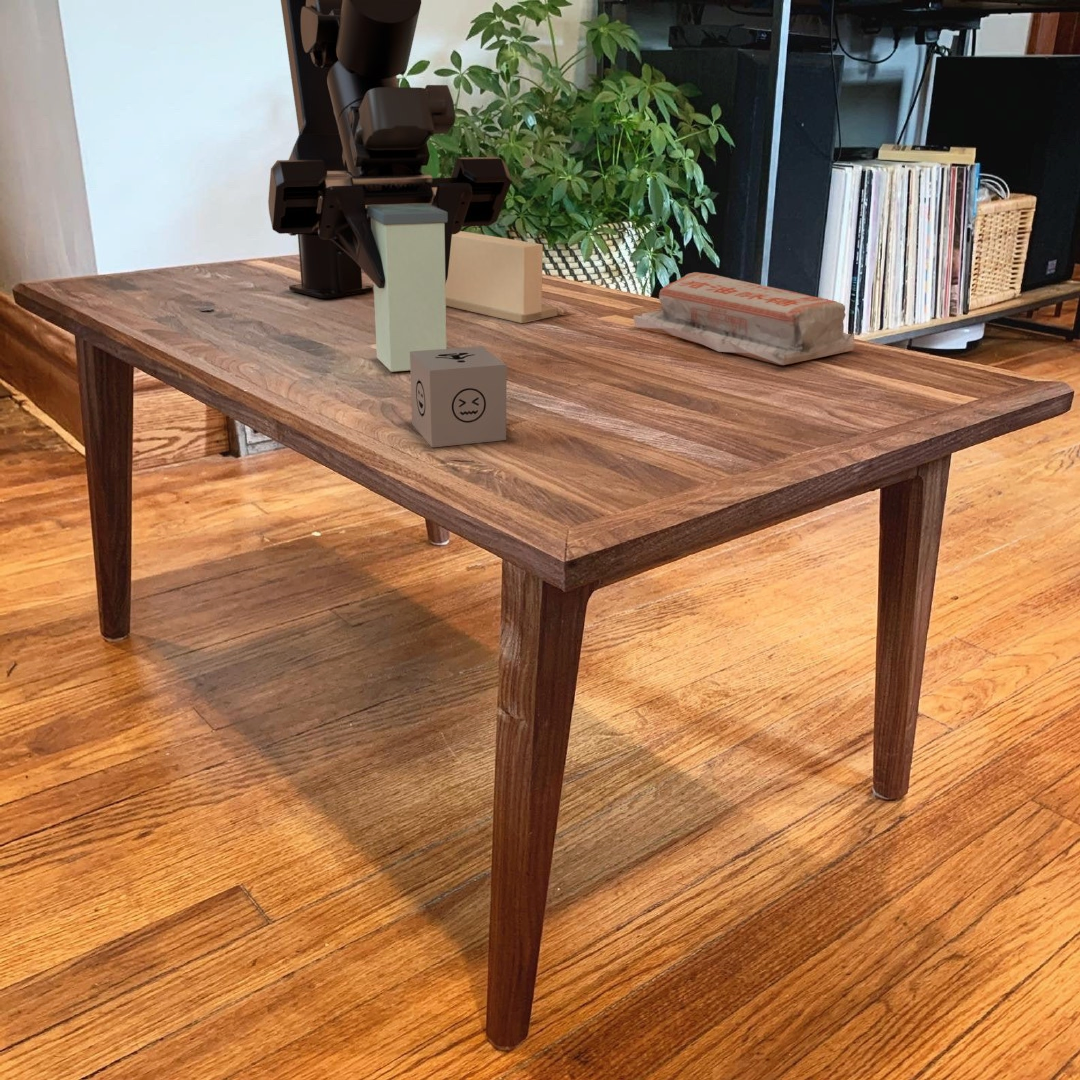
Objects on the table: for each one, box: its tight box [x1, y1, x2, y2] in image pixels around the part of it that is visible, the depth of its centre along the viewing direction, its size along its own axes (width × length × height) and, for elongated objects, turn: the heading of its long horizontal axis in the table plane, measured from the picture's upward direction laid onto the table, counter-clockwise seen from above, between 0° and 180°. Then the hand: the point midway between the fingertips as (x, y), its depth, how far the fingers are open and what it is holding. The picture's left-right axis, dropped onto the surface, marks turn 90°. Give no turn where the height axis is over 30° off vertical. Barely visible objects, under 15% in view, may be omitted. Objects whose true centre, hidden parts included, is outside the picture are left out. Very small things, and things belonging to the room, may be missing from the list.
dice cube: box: [409, 346, 508, 449], centre depth 70 cm, size 5×5×5 cm
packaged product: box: [633, 271, 856, 366], centre depth 96 cm, size 18×5×10 cm
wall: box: [445, 230, 559, 324], centre depth 106 cm, size 13×5×7 cm, turn 46°
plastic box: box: [367, 204, 448, 373], centre depth 85 cm, size 5×5×12 cm
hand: (413, 283), depth 83 cm, fingers closed on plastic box, 4 cm apart
